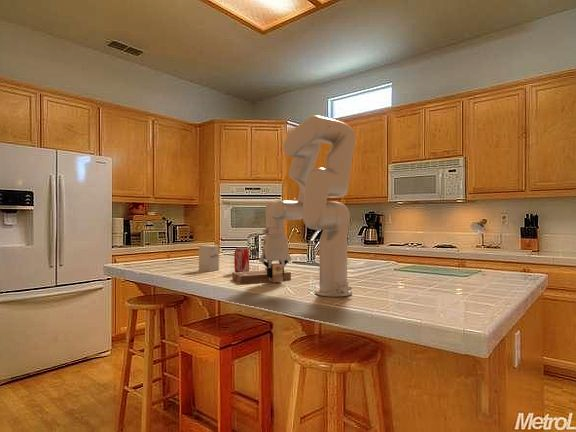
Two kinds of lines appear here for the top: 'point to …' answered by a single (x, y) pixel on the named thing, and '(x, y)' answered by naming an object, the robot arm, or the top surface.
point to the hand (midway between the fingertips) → (275, 276)
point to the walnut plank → (255, 276)
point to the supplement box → (208, 258)
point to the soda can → (241, 260)
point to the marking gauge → (276, 272)
